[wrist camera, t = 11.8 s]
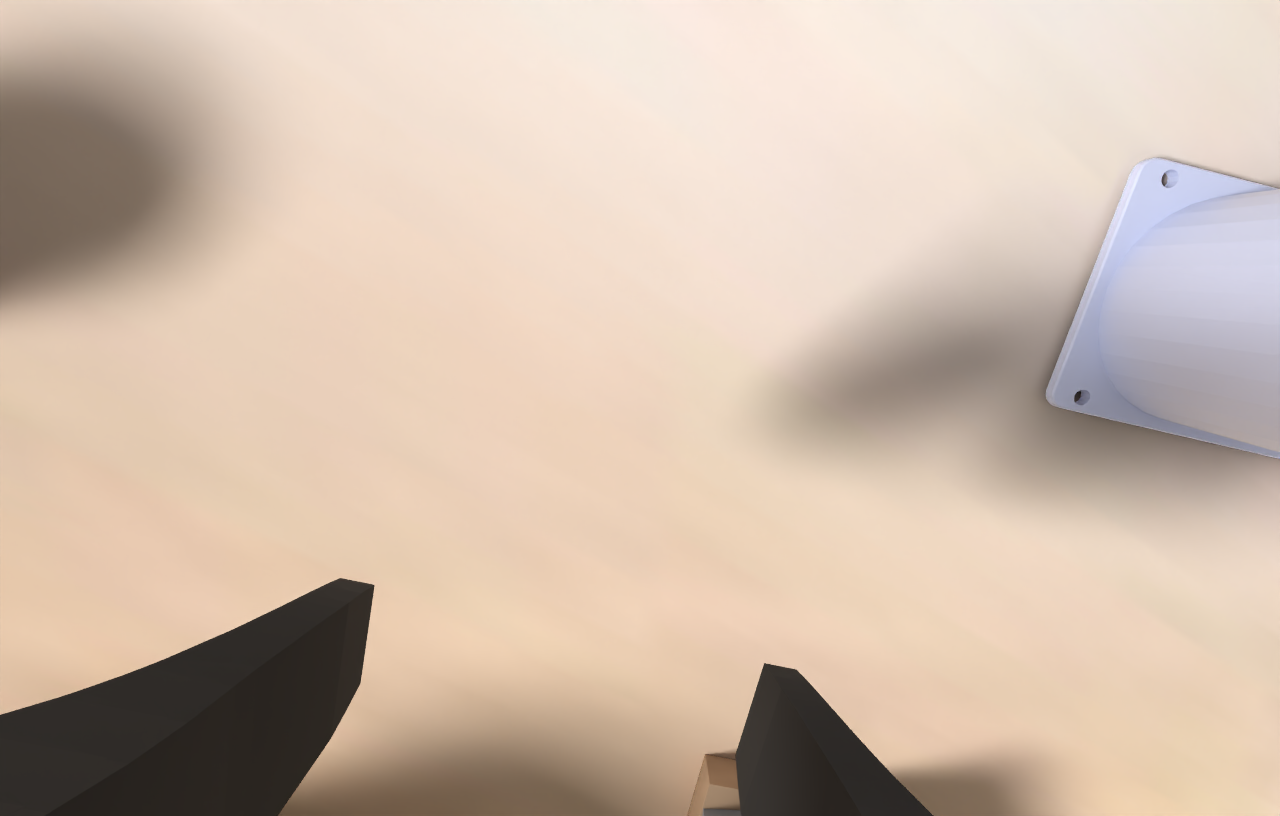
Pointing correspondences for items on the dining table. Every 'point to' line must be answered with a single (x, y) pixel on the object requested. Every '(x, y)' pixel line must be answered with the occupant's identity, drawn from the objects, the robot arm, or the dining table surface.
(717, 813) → the grey slab
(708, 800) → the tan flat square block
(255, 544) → the dining table surface
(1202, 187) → the robot arm
